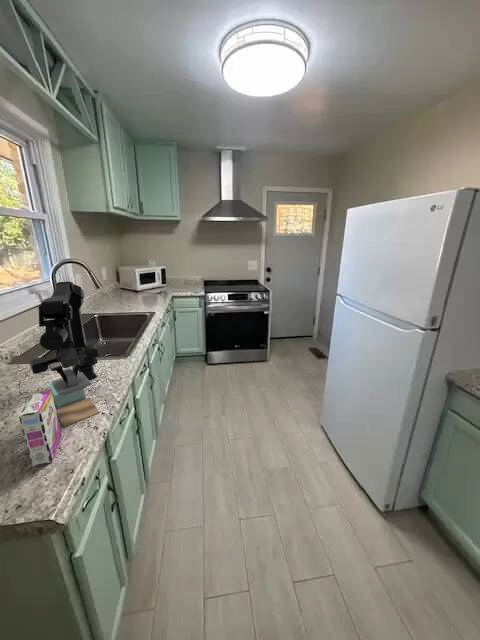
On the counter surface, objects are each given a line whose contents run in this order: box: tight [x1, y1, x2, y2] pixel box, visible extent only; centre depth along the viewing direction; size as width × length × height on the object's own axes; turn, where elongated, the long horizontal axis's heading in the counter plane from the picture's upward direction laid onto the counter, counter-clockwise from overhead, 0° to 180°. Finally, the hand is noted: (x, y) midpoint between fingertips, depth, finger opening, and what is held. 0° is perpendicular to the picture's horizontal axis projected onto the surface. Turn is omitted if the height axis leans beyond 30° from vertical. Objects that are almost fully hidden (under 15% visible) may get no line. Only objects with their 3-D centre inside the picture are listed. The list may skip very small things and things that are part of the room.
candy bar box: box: [18, 390, 62, 468], centre depth 75 cm, size 11×5×16 cm, turn 21°
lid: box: [51, 367, 92, 396], centre depth 91 cm, size 10×9×6 cm
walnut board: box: [56, 397, 101, 428], centre depth 95 cm, size 12×11×1 cm
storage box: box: [48, 383, 87, 409], centre depth 102 cm, size 10×9×6 cm
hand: (70, 380), depth 91 cm, fingers closed on lid, 2 cm apart
